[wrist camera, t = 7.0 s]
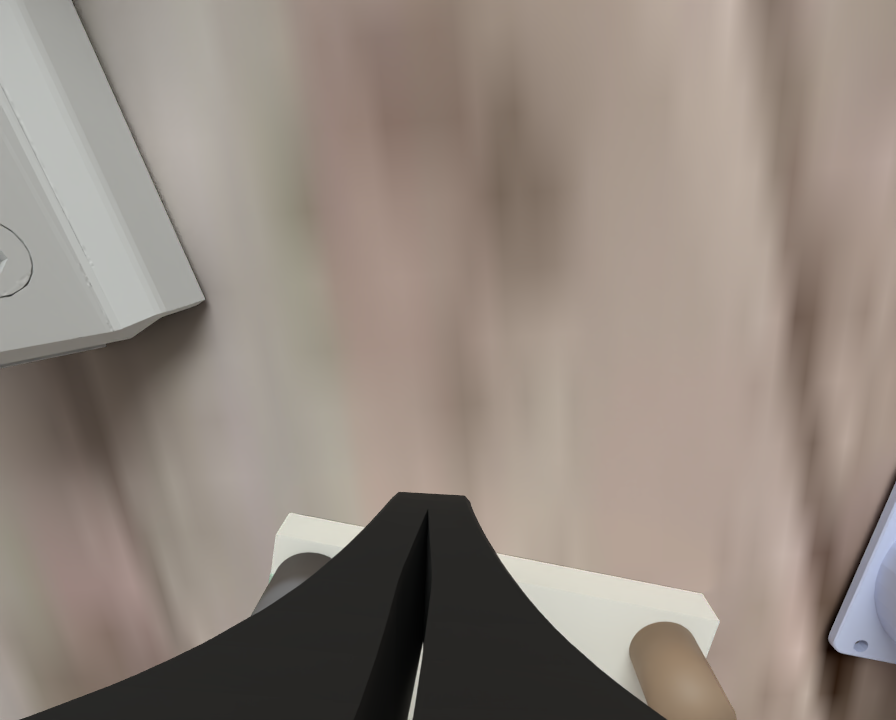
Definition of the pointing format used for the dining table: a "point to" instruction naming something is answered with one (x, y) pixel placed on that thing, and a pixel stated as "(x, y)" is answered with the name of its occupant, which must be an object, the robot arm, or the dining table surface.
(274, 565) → the stool seat
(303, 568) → the hammer
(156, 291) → the hinge
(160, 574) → the dining table surface
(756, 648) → the dining table surface
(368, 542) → the robot arm
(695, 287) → the dining table surface
